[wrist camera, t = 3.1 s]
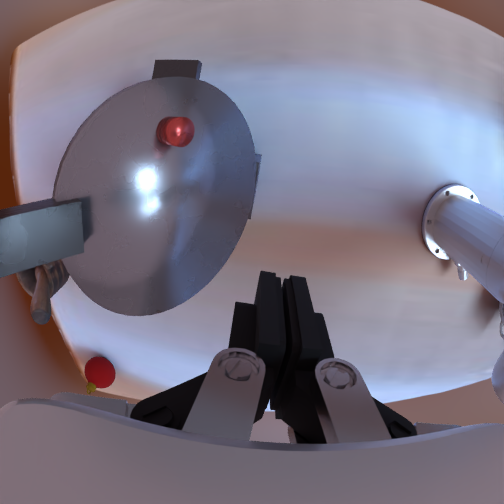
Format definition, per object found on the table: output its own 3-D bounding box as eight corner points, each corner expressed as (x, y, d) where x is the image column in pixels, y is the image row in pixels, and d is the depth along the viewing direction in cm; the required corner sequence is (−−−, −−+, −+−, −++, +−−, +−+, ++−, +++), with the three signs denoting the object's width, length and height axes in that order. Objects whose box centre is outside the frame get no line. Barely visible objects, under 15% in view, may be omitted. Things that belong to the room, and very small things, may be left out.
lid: (259, 97, 25) (284, 99, 24) (232, 272, 33) (252, 282, 31) (-27, 74, 7) (-29, 63, 5) (15, 363, 14) (25, 389, 13)
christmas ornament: (89, 346, 54) (69, 377, 45) (117, 354, 54) (98, 387, 45) (96, 368, 57) (78, 398, 48) (122, 376, 57) (106, 408, 48)
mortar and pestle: (104, 212, 41) (20, 268, 23) (116, 261, 45) (49, 334, 26) (55, 220, 42) (-24, 270, 24) (67, 264, 46) (0, 325, 27)
